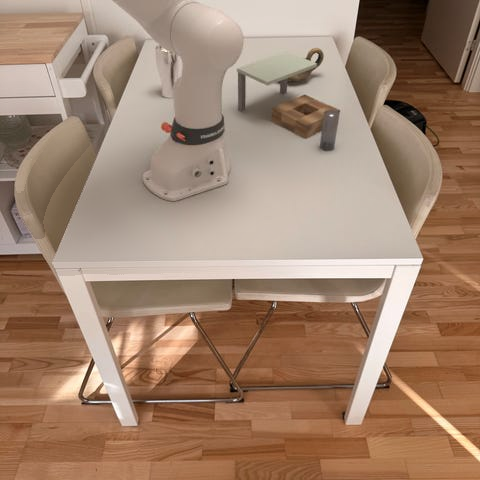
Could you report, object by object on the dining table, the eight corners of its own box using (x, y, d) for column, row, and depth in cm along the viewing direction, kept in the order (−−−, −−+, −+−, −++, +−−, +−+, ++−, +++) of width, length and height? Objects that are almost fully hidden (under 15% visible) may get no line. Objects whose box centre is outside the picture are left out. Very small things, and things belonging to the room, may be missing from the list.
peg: (327, 152, 122) (332, 118, 115) (316, 146, 124) (320, 113, 118) (337, 147, 124) (342, 113, 117) (326, 141, 126) (330, 108, 120)
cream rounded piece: (179, 88, 153) (174, 42, 143) (183, 97, 148) (179, 49, 138) (158, 91, 151) (152, 44, 141) (162, 100, 146) (156, 52, 136)
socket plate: (305, 138, 128) (306, 125, 125) (271, 120, 136) (271, 108, 133) (338, 122, 134) (340, 110, 132) (303, 106, 142) (304, 94, 140)
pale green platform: (266, 125, 134) (267, 82, 125) (237, 109, 141) (236, 68, 132) (312, 104, 143) (316, 63, 134) (283, 91, 150) (285, 51, 142)
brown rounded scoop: (268, 72, 162) (269, 43, 156) (315, 69, 164) (318, 41, 157) (275, 88, 152) (277, 58, 146) (326, 85, 154) (330, 55, 147)
